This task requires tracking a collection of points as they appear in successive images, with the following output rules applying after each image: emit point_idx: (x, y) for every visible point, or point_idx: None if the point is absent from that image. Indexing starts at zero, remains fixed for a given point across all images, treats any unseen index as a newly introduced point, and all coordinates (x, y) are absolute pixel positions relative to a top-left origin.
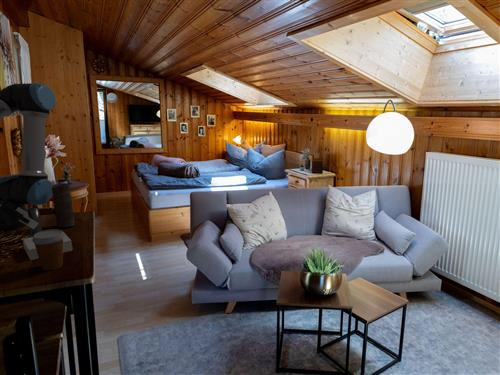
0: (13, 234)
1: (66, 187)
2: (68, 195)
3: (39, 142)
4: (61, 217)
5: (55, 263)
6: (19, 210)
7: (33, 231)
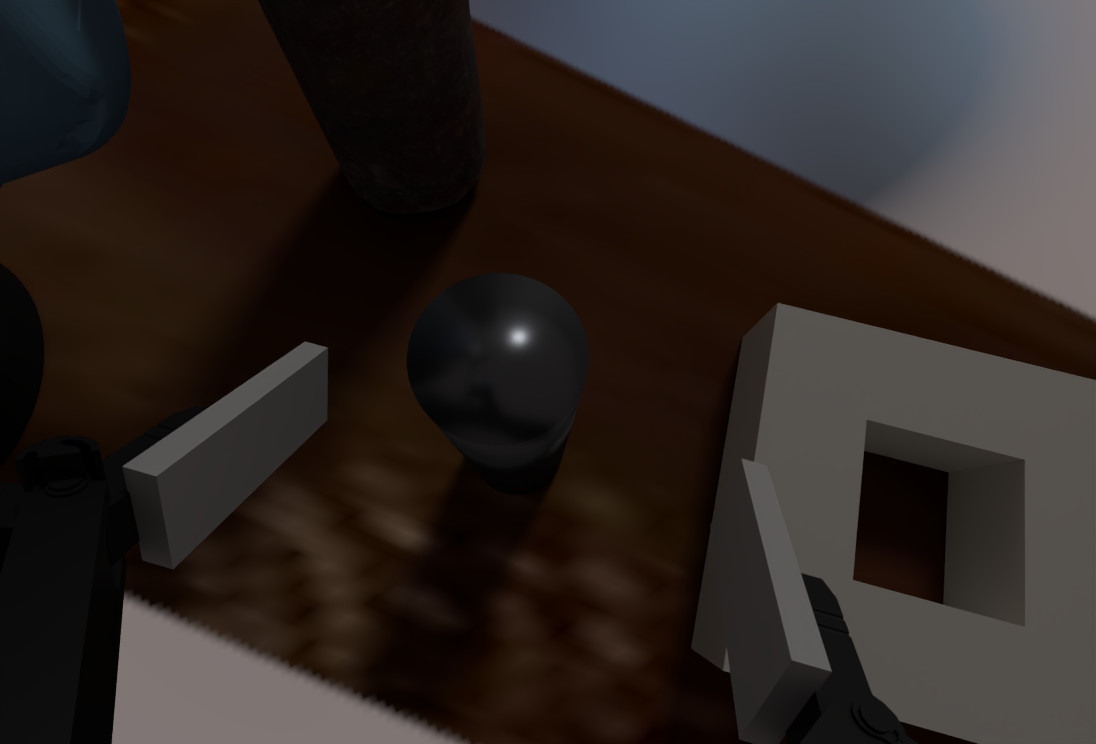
0: None
1: None
2: None
3: None
4: (450, 135)
5: None
6: (203, 475)
7: (547, 474)
